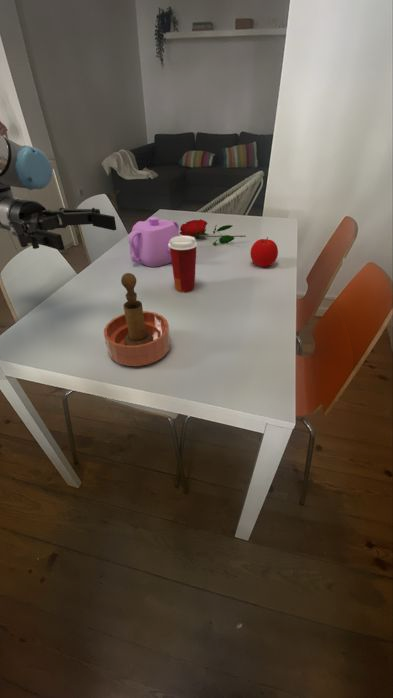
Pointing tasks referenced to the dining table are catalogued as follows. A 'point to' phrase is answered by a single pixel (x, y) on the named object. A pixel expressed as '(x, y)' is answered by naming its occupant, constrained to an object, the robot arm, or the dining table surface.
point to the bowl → (137, 353)
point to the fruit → (264, 252)
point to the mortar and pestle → (134, 314)
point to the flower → (198, 228)
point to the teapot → (152, 241)
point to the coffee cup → (183, 262)
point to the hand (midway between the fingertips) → (89, 232)
